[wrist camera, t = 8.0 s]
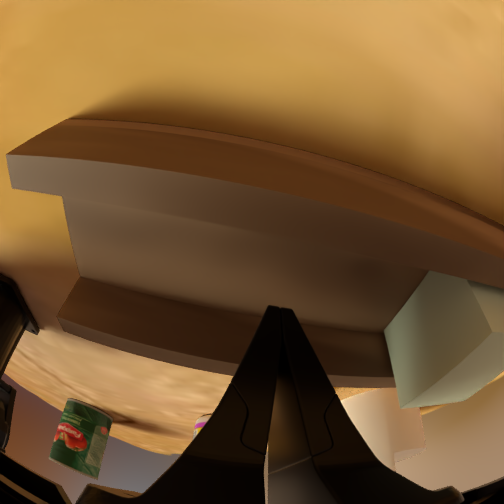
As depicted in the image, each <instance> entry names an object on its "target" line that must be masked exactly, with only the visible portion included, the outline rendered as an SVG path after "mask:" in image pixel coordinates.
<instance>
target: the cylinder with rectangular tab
mask: <svg viewBox="0 0 504 504" xmlns="http://www.w3.org/2000/svg"><path fill="white" fill-rule="evenodd" d="M341 403H342V405H343V407H344V409H345V410H346V412H347V414H348V416H349V417H350V419H351V420H352V422H353V424H354V425H355V427H356V428H357V430H358V431H359V433H360V434H361V436H362V437H363V439H364V440H365V442H366V443H367V445H368V446H369V448H370V449H371V450H372V452H373V453H374V455H375V456H376V457H377V458H378V459H379V461H381V462H382V463H383V464H384V465H385V466H387V467H388V468H390V469H391V470H393V471H395V472H396V470H395V462H398V461H402V460H405V459H408V458H410V457H413V456H415V455H418V454H420V453H422V452H423V451H425V450H426V444H425V437H424V431H423V425H422V419H421V413H420V408H419V407H415V408H404V409H400V405H399V399H398V394H397V389H396V388H380V389H376V390H371V391H367V392H363V393H360V394H356V395H353V396H351V397H348V398H346V399H343V400H341Z"/></svg>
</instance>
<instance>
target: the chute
mask: <svg viewBox="0 0 504 504" xmlns="http://www.w3.org/2000/svg"><path fill="white" fill-rule="evenodd" d="M6 158H7V164H8V170H9V175H10V180H11V185H12V188H13V189H20V190H26V191H33V192H39V193H45V194H52V195H58V196H62V198H63V204H64V210H65V215H66V220H67V225H68V230H69V234H70V239H71V243H72V247H73V251H74V255H75V259H76V263H77V267H78V270H79V274H80V278H79V279H78V281H77V283H76V284H75V286H74V288H73V289H72V291H71V293H70V294H69V296H68V298H67V299H66V301H65V303H64V304H63V306H62V308H61V310H60V311H59V313H58V315H57V318H58V320H59V322H60V324H61V326H62V328H63V330H64V331H65V332H68V333H70V334H73V335H76V336H79V337H81V338H84V339H87V340H90V341H93V342H96V343H99V344H102V345H105V346H109V347H112V348H115V349H118V350H122V351H125V352H129V353H132V354H136V355H139V356H143V357H147V358H151V359H154V360H158V361H163V362H167V363H171V364H175V365H180V366H184V367H189V368H193V369H198V370H203V371H208V372H214V373H219V374H225V375H231V376H234V374H235V372H236V370H237V368H238V366H239V364H240V362H241V360H242V358H243V356H244V354H245V352H246V350H247V348H248V346H249V344H250V342H251V340H252V338H253V335H254V333H255V331H256V329H257V327H258V325H259V323H260V321H261V319H262V316H263V314H264V312H265V310H266V308H267V306H268V305H273V306H278V307H280V308H281V307H285V308H291V309H292V310H293V311H294V313H295V315H296V317H297V319H298V320H299V322H300V324H301V326H302V328H303V330H304V332H305V334H306V336H307V338H308V340H309V341H310V343H311V345H312V347H313V349H314V351H315V353H316V355H317V357H318V359H319V361H320V363H321V364H322V366H323V368H324V370H325V372H326V374H327V376H328V378H329V380H330V382H331V384H332V386H333V387H352V388H396V383H395V378H394V373H393V369H392V364H391V359H390V355H389V351H388V346H387V342H386V338H385V334H384V330H385V328H386V327H387V326H388V325H389V324H390V322H391V321H392V320H393V319H394V317H395V316H396V315H397V314H398V312H399V311H400V310H401V309H402V307H403V306H404V305H405V303H406V302H407V301H408V299H409V298H410V297H411V295H412V294H413V293H414V291H415V290H416V289H417V287H418V286H419V285H420V283H421V282H422V280H423V279H424V277H425V276H426V275H427V273H428V272H429V270H430V271H435V272H439V273H443V274H447V275H451V276H455V277H459V278H463V279H467V280H471V281H475V282H479V283H483V284H487V285H491V286H495V287H499V288H502V289H504V226H503V225H501V224H499V223H497V222H495V221H493V220H491V219H489V218H487V217H485V216H483V215H481V214H479V213H477V212H474V211H472V210H470V209H468V208H466V207H464V206H461V205H459V204H457V203H455V202H452V201H450V200H448V199H446V198H443V197H441V196H438V195H436V194H434V193H431V192H429V191H426V190H424V189H421V188H419V187H416V186H413V185H411V184H408V183H405V182H403V181H400V180H397V179H395V178H392V177H389V176H386V175H383V174H380V173H377V172H374V171H371V170H368V169H365V168H362V167H359V166H356V165H353V164H349V163H346V162H343V161H339V160H336V159H332V158H329V157H325V156H322V155H318V154H314V153H311V152H307V151H303V150H299V149H295V148H291V147H287V146H282V145H278V144H274V143H269V142H264V141H260V140H255V139H250V138H245V137H240V136H235V135H229V134H223V133H218V132H211V131H205V130H199V129H192V128H185V127H177V126H169V125H160V124H150V123H139V122H127V121H112V120H88V119H66V120H64V121H62V122H60V123H58V124H56V125H54V126H53V127H51V128H49V129H47V130H45V131H44V132H42V133H40V134H38V135H36V136H35V137H33V138H31V139H30V140H28V141H26V142H25V143H23V144H22V145H20V146H18V147H17V148H15V149H14V150H12V151H11V152H9V153H8V154H6Z"/></svg>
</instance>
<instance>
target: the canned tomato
mask: <svg viewBox="0 0 504 504" xmlns="http://www.w3.org/2000/svg"><path fill="white" fill-rule="evenodd" d="M112 422H113V419H112V417H110V416H109V415H108V414H106V413H105V412H103V411H101V410H99V409H97V408H95V407H93V406H91V405H89V404H86V403H84V402H82V401H79V400H76V399H72V398H68V399H67V403H66V406H65V408H64V411H63V414H62V417H61V420H60V423H59V426H58V429H57V432H56V435H55V439H54V443H53V446H52V448H51V453H50V456H49V459H50V460H52V461H54V462H56V463H58V464H60V465H62V466H64V467H66V468H68V469H71V470H73V471H75V472H78V473H80V474H82V475H85V476H88V477H90V478H93V479H96V480H98V474H99V471H100V466H101V462H102V458H103V454H104V450H105V446H106V443H107V439H108V435H109V432H110V428H111V424H112Z"/></svg>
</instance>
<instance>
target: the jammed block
mask: <svg viewBox="0 0 504 504" xmlns="http://www.w3.org/2000/svg"><path fill="white" fill-rule="evenodd" d="M384 334H385V338H386V342H387V346H388V351H389V355H390V359H391V364H392V369H393V373H394V378H395V383H396V389H397V394H398V399H399V405H400V409H404V408H415V407H425V406H433V405H441V404H448V403H454V402H460V401H465V400H466V399H468V398H469V397H471V396H472V395H473V394H475V393H476V392H477V391H479V390H480V389H482V388H483V387H484V386H485V385H487V384H488V383H489V382H491V381H492V380H493V379H494V378H496V377H497V376H498V375H499V374H500V373H502V372H503V371H504V289H502V288H499V287H495V286H491V285H487V284H483V283H479V282H475V281H471V280H467V279H463V278H459V277H455V276H451V275H447V274H443V273H439V272H435V271H430V270H429V272H428V273H427V275H426V276H425V277H424V279H423V280H422V282H421V283H420V285H419V286H418V287H417V289H416V290H415V291H414V293H413V294H412V295H411V297H410V298H409V299H408V301H407V302H406V303H405V305H404V306H403V307H402V309H401V310H400V311H399V312H398V314H397V315H396V316H395V317H394V319H393V320H392V321H391V322H390V324H389V325H388V326H387V327H386V328H385V330H384Z"/></svg>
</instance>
